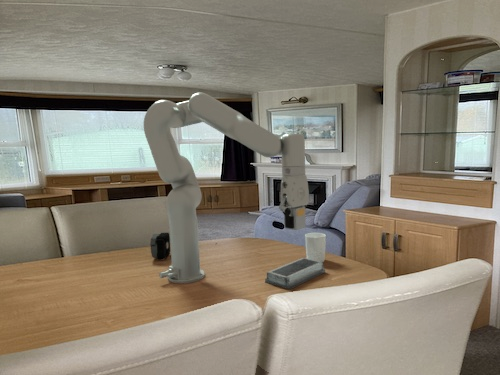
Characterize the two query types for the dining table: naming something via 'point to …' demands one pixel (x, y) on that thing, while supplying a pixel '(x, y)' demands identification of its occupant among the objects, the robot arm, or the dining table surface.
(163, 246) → the cpu cooler
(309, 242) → the white cup
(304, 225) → the block
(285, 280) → the rail
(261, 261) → the dining table surface
